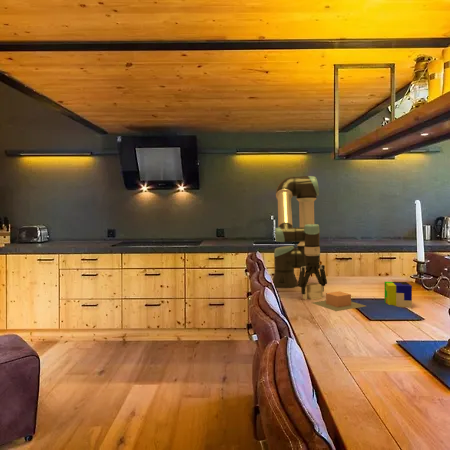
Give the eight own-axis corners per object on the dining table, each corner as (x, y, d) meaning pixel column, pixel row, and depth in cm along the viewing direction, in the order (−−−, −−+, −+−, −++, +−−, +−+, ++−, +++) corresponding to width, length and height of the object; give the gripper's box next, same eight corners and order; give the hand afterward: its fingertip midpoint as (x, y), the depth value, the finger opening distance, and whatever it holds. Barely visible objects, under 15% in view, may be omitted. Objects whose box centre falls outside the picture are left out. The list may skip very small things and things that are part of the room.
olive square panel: (311, 304, 195) (311, 302, 195) (340, 300, 203) (340, 298, 203) (336, 313, 179) (336, 311, 179) (367, 308, 187) (367, 306, 187)
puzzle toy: (411, 307, 186) (411, 286, 186) (388, 307, 188) (388, 285, 188) (406, 302, 196) (406, 281, 195) (384, 302, 198) (384, 281, 197)
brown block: (304, 299, 207) (304, 283, 207) (313, 298, 210) (313, 282, 209) (311, 301, 202) (311, 285, 201) (321, 300, 204) (321, 284, 204)
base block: (326, 303, 193) (325, 293, 193) (339, 301, 196) (339, 291, 196) (337, 307, 186) (337, 296, 185) (351, 305, 189) (350, 294, 189)
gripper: (298, 257, 196) (299, 303, 197) (334, 254, 206) (334, 298, 207) (289, 255, 203) (290, 300, 204) (324, 252, 212) (325, 295, 213)
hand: (312, 299), depth 205 cm, fingers open, 9 cm apart
